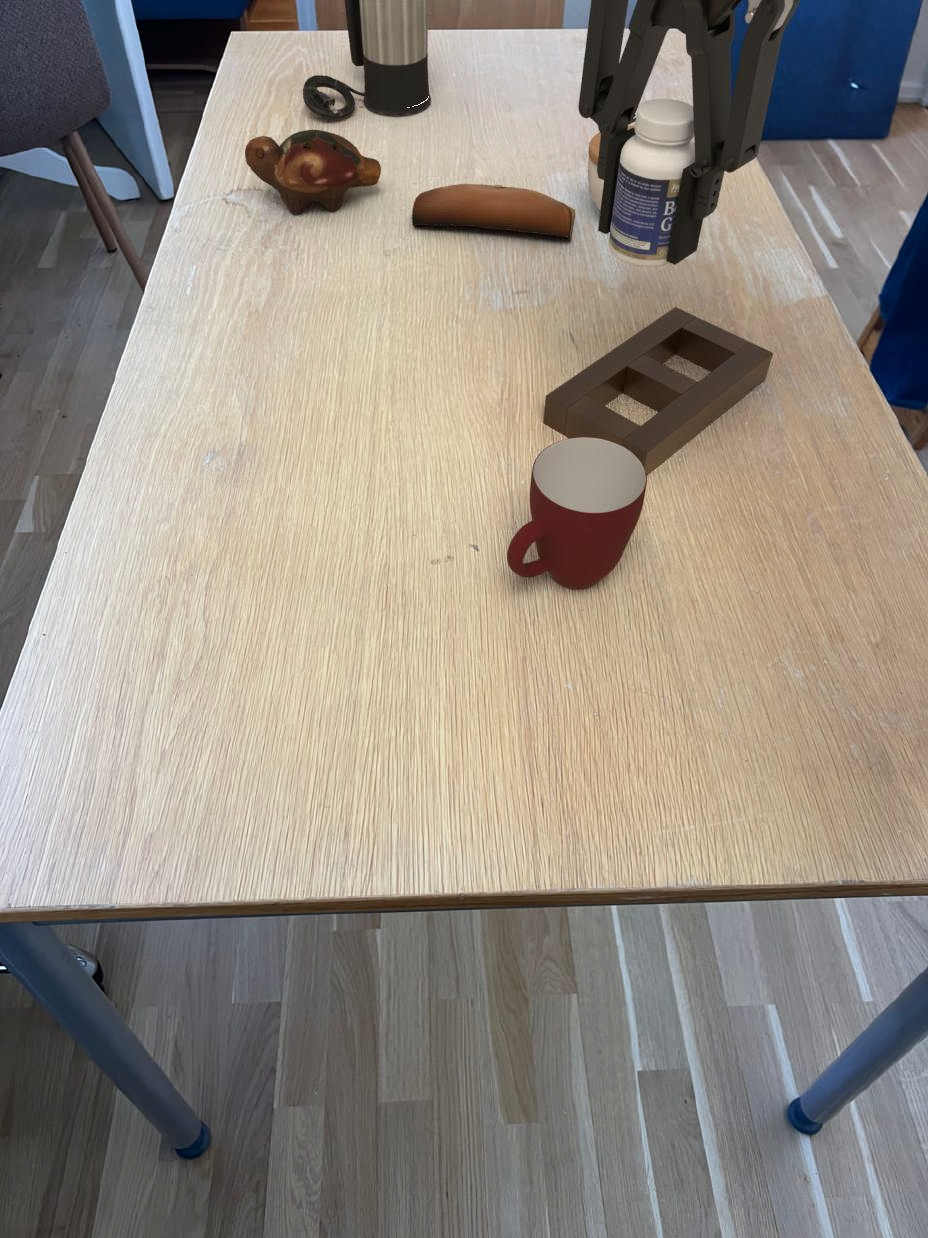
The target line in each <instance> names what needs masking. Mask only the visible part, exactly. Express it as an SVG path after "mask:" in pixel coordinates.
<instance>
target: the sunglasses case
mask: <svg viewBox="0 0 928 1238" xmlns="http://www.w3.org/2000/svg"><path fill="white" fill-rule="evenodd" d="M411 212H412V213H411V224H412V227H414V226H417V225H418V226H443V227H449V226H454V227H470V226H472V227H475V228H483V229H490V230H503V231H504V230H507V231H508V230H509V231H513V232H519V233H528V234H530V233H531V234H540V235H547V236H549V235H550V236H556V237H563V238H566V239H568V240H569V241H570V242H571V241H572V237H573V232H574V224H575V218H576V210H575V209H574V208H573V207H571V206H569V205H568V204H567V203H564V202H562V201H560V200H557V199H555V198H553V197H551V196H549V195H547V194H544V193H542V192H539V191H536V190H533V189H528V188H523V187H514V186H503V185H502V184H495V185H491V184H476V183H458V184H450V185H445V186H440V187H436V188H432V189H429V190H425V191H422V192H421V193H419V194H418V195H417V196H416V198H415V199H414V202H413V205H412V211H411Z"/></svg>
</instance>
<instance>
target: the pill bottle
mask: <svg viewBox="0 0 928 1238" xmlns="http://www.w3.org/2000/svg"><path fill="white" fill-rule="evenodd" d="M635 118H636V121H635V122H634V126H635V133H636V135H634V136H633V137H631V138H630V139H629V140H628V141H627V142H626V143H625V144H624V146H623V148H622V151H621V156H620V162H619V169H618V177H617V184H616V192H615V199H614V206H613V213H612V220H611V228H610V232H609V234H608V236H609V237H608V247H609V250H610V252H611V254H612V255H613V256H614V257H615V258H617V259H618V260H620V261H621V262H623V263H626V264H628V265H632V266H636V267H644V268H657V267H663V266H667V265H669V264H670V263H669V262H667V261H666V260H667V254H668V249H669V243H670V238H671V232H672V227H673V222H674V216H675V211H676V205H677V200H678V194H679V189H680V183H681V178H682V173H683V169H684V168H686V167H687V166H689V165H691V164H693V163H694V162H695V144H694V117H693V104H692V105H691V104H690V103H689V102H685V101H681V100H677V99H673V98H654V99H648V100H646V101H644V102H642V103H640V104H639V105H638V108H637V111H636V116H635Z"/></svg>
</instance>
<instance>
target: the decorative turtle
mask: <svg viewBox="0 0 928 1238" xmlns="http://www.w3.org/2000/svg"><path fill="white" fill-rule="evenodd" d="M244 158H245V162H246V165H247V166H248V167H249V169H250V170H251V171H252V172H253V174H254V175H255V176H256V177H258V178H259V179H260V180H261V181H262V182H264V183H265V184H267V185H269V186H270V187H272V188H273V189H275V190H276V191H277V193H278V194H279V196H280V197H281V199H282V200H283V202H284V204H285V205H286V207H287V209H288V211H289V212H291V213H292V214H294V215H299V214H301V213H302V212H303V211H304V210H305V209H306V208H307V206H308V205H309V204H310V203H311V202H312V201H315V202H318V203H319V204H320V205H322V206H323V207H324V208H325V209H326V210H327V211H329V212H332V213H335V212H336V211H337V210H339V208H340V207H341V205H342V202H343V200H344V197H345V195H346V194H347V192H348V190H349V189H351V188H361V187H373V186H376V185H377V184H378V182H379V180H380V177H381V173H382V167H381V164H380V162H379V160H378V159H376V158H373V157H367V156H364V155H362V154H361V152H360V150H359V149H358V147H356V146H355V144H353V143H352V142H351V141H350V140H348V139H347V138H345V137H343V136H342V135H340V134H337V133H334V132H329V131H326V130H321V129H305V130H301V131H297V132H294V133H292V134H291V135H288V137H287V138H285V139H284V140H283V141H282V142H281V144H280V145H279V143H278V142H276V140H275V139H274V138H272V137H271V136H267V135H259V136H256V137H254V138H252V139H250V140H249V141H248V142H247V144H246V146H245V148H244Z"/></svg>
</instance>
